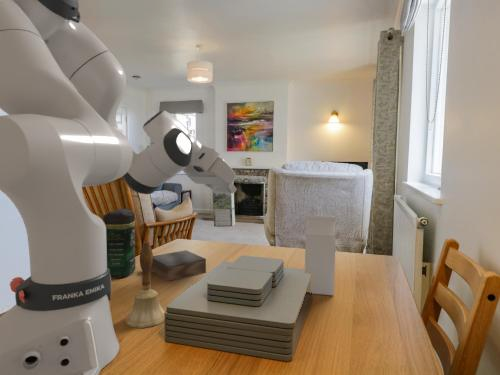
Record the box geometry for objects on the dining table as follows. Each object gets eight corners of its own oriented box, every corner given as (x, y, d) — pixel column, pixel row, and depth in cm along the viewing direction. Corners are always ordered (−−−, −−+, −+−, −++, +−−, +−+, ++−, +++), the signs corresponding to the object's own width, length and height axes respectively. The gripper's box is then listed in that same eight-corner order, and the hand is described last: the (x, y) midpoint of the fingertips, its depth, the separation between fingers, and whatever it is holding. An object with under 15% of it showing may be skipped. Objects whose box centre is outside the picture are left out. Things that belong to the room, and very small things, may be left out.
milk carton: (333, 296, 84) (336, 218, 83) (304, 293, 86) (305, 217, 84) (332, 285, 91) (334, 214, 90) (305, 283, 92) (307, 213, 91)
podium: (167, 280, 94) (167, 266, 93) (150, 269, 103) (149, 256, 103) (205, 272, 101) (205, 258, 101) (186, 262, 110) (186, 250, 110)
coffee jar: (129, 278, 95) (128, 211, 94) (100, 279, 95) (98, 211, 93) (139, 267, 105) (137, 207, 103) (112, 268, 104) (110, 207, 103)
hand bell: (127, 312, 74) (126, 239, 73) (167, 308, 76) (166, 237, 75) (123, 330, 66) (121, 248, 65) (167, 325, 68) (166, 246, 67)
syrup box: (235, 223, 106) (233, 176, 105) (232, 226, 100) (230, 177, 99) (217, 223, 107) (215, 176, 106) (213, 227, 101) (211, 177, 100)
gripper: (171, 168, 103) (201, 196, 110) (205, 167, 87) (239, 201, 94) (183, 152, 106) (213, 181, 113) (219, 149, 90) (251, 183, 96)
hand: (225, 190), depth 103 cm, fingers closed on syrup box, 8 cm apart
